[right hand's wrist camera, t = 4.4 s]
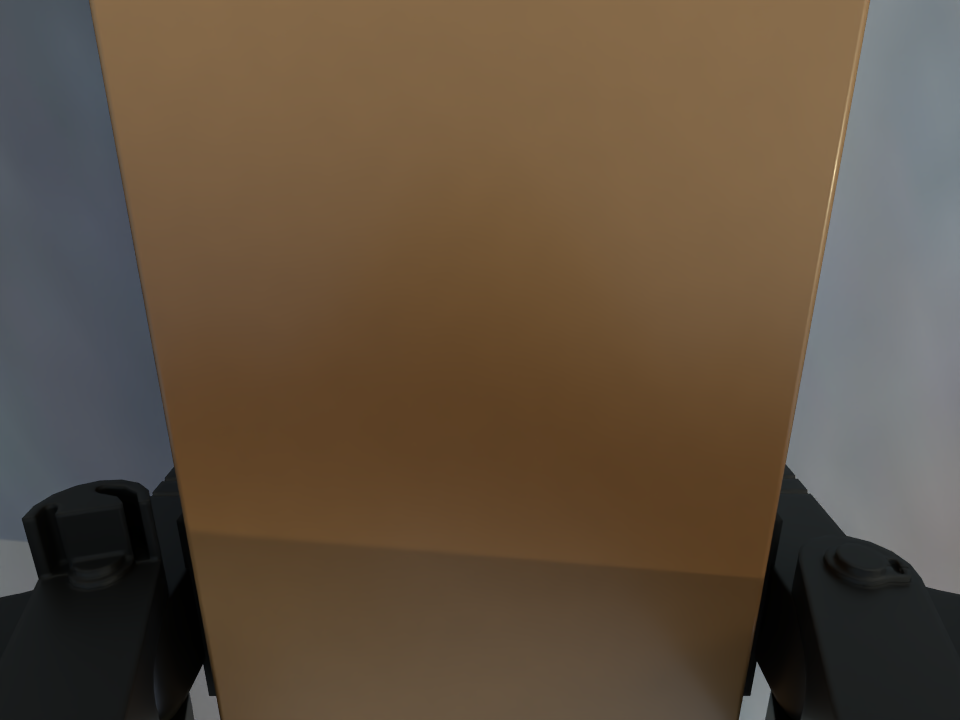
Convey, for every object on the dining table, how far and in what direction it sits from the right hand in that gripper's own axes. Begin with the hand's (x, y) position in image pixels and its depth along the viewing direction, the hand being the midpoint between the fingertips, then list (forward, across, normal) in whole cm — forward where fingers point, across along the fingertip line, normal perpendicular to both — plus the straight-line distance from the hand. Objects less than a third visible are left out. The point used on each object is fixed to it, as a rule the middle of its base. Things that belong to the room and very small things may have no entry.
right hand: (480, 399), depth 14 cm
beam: (+1, 0, -29) cm, 29 cm away
